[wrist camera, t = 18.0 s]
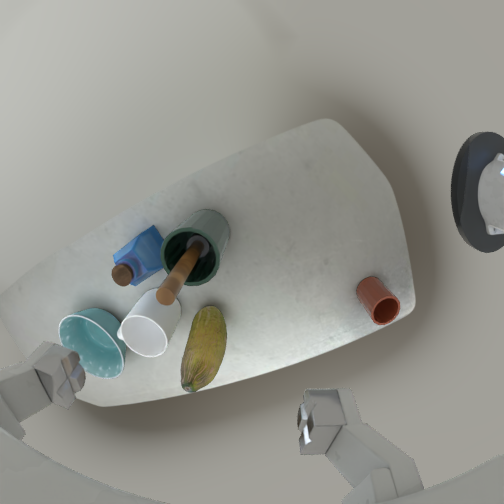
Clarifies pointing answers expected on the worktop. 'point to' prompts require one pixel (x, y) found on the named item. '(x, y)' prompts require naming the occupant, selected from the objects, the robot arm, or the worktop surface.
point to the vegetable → (203, 349)
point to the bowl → (94, 341)
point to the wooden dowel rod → (182, 269)
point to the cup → (210, 228)
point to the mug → (150, 325)
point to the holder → (378, 300)
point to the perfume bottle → (138, 258)
